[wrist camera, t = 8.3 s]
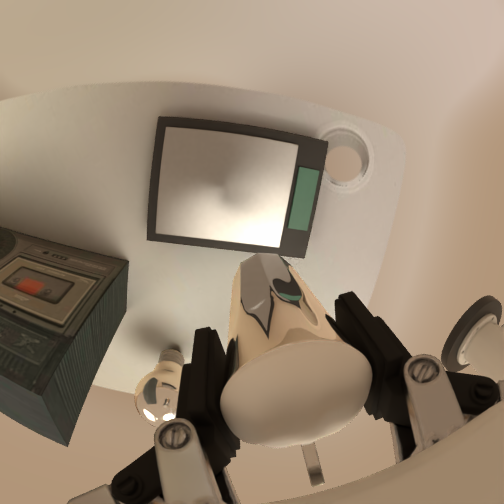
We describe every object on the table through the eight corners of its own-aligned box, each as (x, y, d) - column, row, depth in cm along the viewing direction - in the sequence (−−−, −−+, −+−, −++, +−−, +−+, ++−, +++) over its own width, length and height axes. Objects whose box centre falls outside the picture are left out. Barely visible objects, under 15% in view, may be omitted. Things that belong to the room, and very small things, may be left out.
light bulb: (188, 375, 35) (182, 445, 24) (143, 358, 34) (124, 426, 23) (206, 344, 34) (203, 419, 22) (156, 324, 32) (134, 397, 21)
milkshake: (235, 334, 16) (252, 498, 6) (210, 251, 14) (193, 434, 4) (311, 316, 16) (380, 464, 6) (299, 230, 14) (416, 374, 4)
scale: (320, 142, 26) (330, 141, 23) (298, 250, 30) (306, 260, 27) (164, 119, 24) (156, 115, 21) (152, 232, 28) (145, 242, 25)
